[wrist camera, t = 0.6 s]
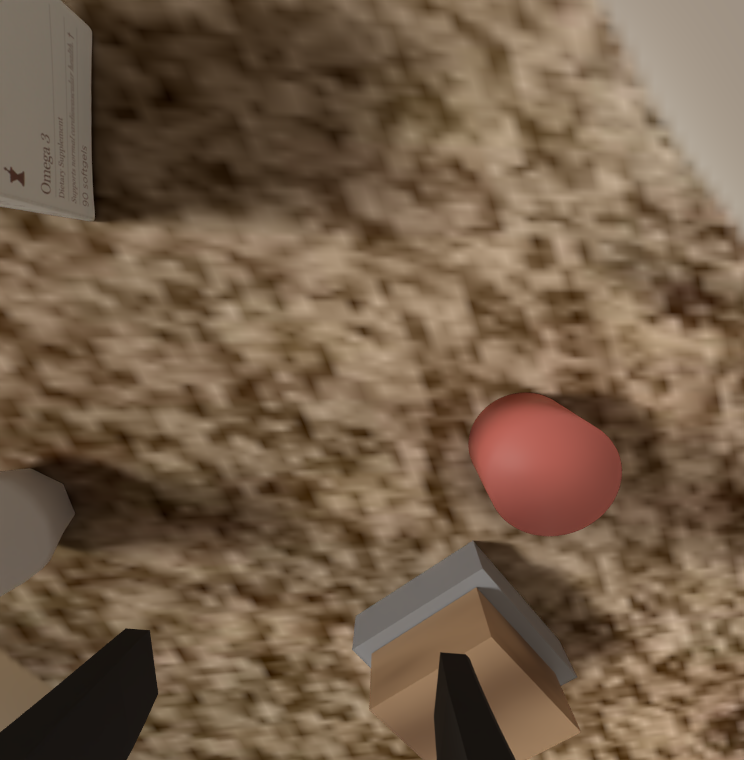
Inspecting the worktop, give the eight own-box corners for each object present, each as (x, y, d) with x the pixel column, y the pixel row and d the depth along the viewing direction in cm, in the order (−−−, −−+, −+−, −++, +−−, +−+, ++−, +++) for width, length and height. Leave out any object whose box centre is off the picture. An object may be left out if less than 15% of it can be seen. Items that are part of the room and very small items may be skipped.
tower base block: (554, 631, 20) (577, 677, 18) (441, 694, 22) (447, 745, 19) (470, 533, 19) (482, 568, 17) (356, 607, 20) (352, 649, 18)
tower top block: (554, 672, 18) (581, 732, 15) (450, 729, 19) (459, 793, 17) (476, 587, 17) (491, 637, 14) (371, 653, 18) (369, 710, 16)
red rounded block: (594, 449, 17) (647, 489, 14) (507, 507, 18) (535, 557, 15) (535, 370, 16) (574, 391, 13) (447, 434, 17) (462, 469, 14)
